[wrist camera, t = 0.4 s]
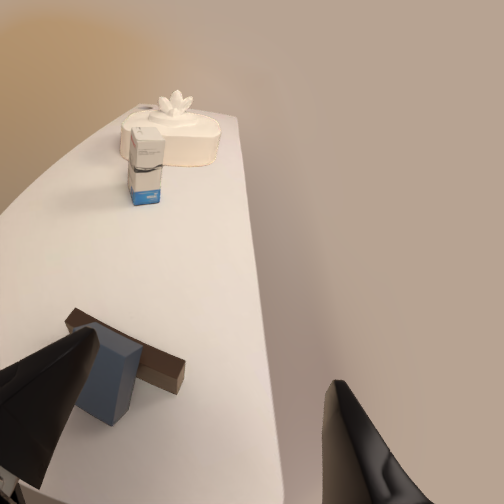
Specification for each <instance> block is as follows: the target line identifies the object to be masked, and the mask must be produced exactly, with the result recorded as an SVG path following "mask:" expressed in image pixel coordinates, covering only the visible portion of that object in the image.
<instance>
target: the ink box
mask: <svg viewBox="0 0 504 504" xmlns="http://www.w3.org/2000/svg"><path fill="white" fill-rule="evenodd" d="M164 148H165V139H164V138H163V137H162V135H161V134H160V132H159V131H158V129H157V128H156V127H132V128H131V137H130V150H129V165H128V187H129V190H130V194H131V197H132V200H133V203H134V205H141V204H150V203H158V202H160V188H161V176H162V165H163V157H164Z"/></svg>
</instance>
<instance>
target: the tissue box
mask: <svg viewBox="0 0 504 504" xmlns="http://www.w3.org/2000/svg"><path fill="white" fill-rule="evenodd" d="M192 101H193V98H192V96H191V97H188V98H185V99H184V100H183V98H182V93H181V92H180V91H179V90H176V91H174V92H173V93H172V95H171V97H170V99H169V100H168V99H167V98H166V97H159V100H158V106H159V109H160V110H147V111H140V112H135V113H132V114H130V115H129V116H128V117H127V119H126V120H125V121H124V122H123V123H122V127H121V143H120V154H121V156H122V157H123V158H124V159H126V160H129V150H130V137H131V128H132V127H156V128H157V129H158V131H159V132H160V134H161V135H162V137H163V138H164V139H165V148H164V157H163V165H168V166H181V167H199V166H206V165H209V164H211V163H213V162H214V161H215V159H216V155H217V150H218V145H219V141H220V136H221V129H220V127H219V124H218V122H217V121H216V120H214V119H212V118H209V117H206V116H203V115H199V114H193V113H189V112H186V110H187V109H188V108H189V106H190V105H191V103H192Z"/></svg>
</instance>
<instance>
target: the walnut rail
mask: <svg viewBox="0 0 504 504" xmlns="http://www.w3.org/2000/svg"><path fill="white" fill-rule="evenodd" d="M93 322H97V323H99V324H100V325H102V326H104V327H106V328H108V329H110V330H112V331H114V332H116V333H118V334H120V335H122V336H124V337H126V338H128V339H130V340H132V341H134V342H136V343H138V344H140V345H143V349H142V353H141V356H140V360H139V365H138V369H137V373H136V377H137V378H139V379H142V380H144V381H146V382H148V383H150V384H152V385H155V386H157V387H159V388H161V389H164V390H166V391H169V392H171V393H173V394H176V395H177V394H178V391H179V389H180V387H181V384H182V382H183V380H184V372H185V362H186V361H185V360H183V359H180V358H178V357H175V356H173V355H170V354H168V353H166V352H163V351H161V350H159V349H156V348H154V347H152V346H150V345H147V344H145V343H143V342H141V341H139V340H137V339H134V338H132V337H130V336H128V335H126V334H124V333H122V332H120V331H118V330H116V329H114V328H112V327H110V326H108V325H106V324H104V323H103V322H101V321H99V320H97V319H95V318H93V317H91V316H90V315H88V314H86V313H84V312H83V311H81V310H79V309H77V308H75V309H74V310H73V311H72V312H71V314H70V315H69V316H68V318H67V319H66V320H65V324H66V326H67V328H68V330H69V332H70V334H71V333H72V331H73V328H76V327H79V326H82V325H86V324H89V323H93Z"/></svg>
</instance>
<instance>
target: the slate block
mask: <svg viewBox="0 0 504 504" xmlns="http://www.w3.org/2000/svg"><path fill="white" fill-rule="evenodd" d="M85 326H89V327H91V328H94V329H95V330H96V332H97V335H98V338H99V342H100V348H99V351H98V353H97V356H96V358H95V361H94V363H93V366H92V369H91V371H90V374H89V376H88V379H87V381H86V383H85V385H84V387H83V389H82V391H81V393H80V395H79V397H78V399H77V401H76V403H75V405H76V406H78V407H79V408H81V409H83V410H84V411H86V412H87V413H89V414H91V415H92V416H94V417H96V418H98V419H99V420H101V421H103V422H105V423H106V424H108V425H110V426H113V425H114V424H115V423H116V422H117V421H118V420H119V419H120V418H121V417H122V416H123V415H124V414H125V413H126V412H127V411H128V409H129V404H130V400H131V395H132V390H133V386H134V381H135V377H136V373H137V369H138V365H139V360H140V356H141V353H142V349H143V345H140V344H138V343H136V342H134V341H132V340H130V339H128V338H126V337H124V336H122V335H120V334H118V333H116V332H114V331H112V330H110V329H108V328H106V327H104V326H102V325H100V324H99V323H97V322H93V323H89V324H86V325H82V326H79V327H76V328H73V331H72V333H73V332H75V331H77V330H79V329H81V328H83V327H85Z"/></svg>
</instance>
